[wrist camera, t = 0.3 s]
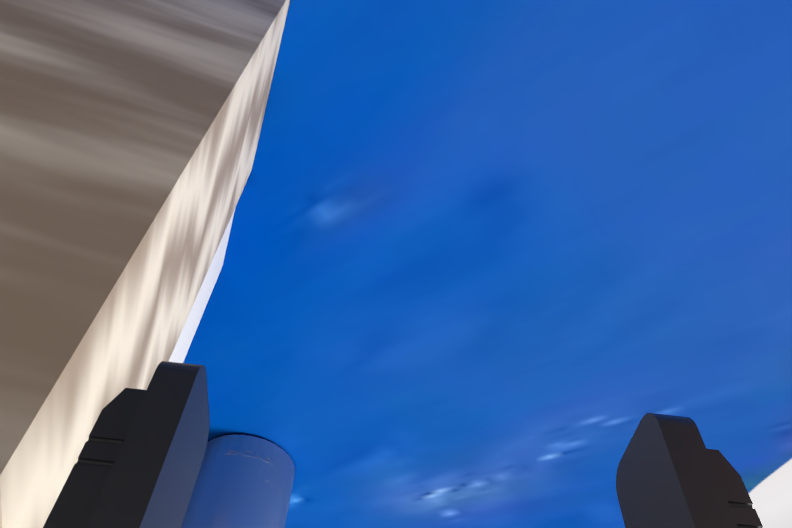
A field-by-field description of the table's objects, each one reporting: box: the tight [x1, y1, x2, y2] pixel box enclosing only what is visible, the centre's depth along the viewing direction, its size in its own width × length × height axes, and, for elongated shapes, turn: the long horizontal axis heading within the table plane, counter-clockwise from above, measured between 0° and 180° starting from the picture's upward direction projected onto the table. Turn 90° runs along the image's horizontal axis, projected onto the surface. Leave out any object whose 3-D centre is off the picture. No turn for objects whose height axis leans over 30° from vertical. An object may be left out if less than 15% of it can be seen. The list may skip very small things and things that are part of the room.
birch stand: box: [0, 0, 290, 528], centre depth 27 cm, size 12×12×32 cm
